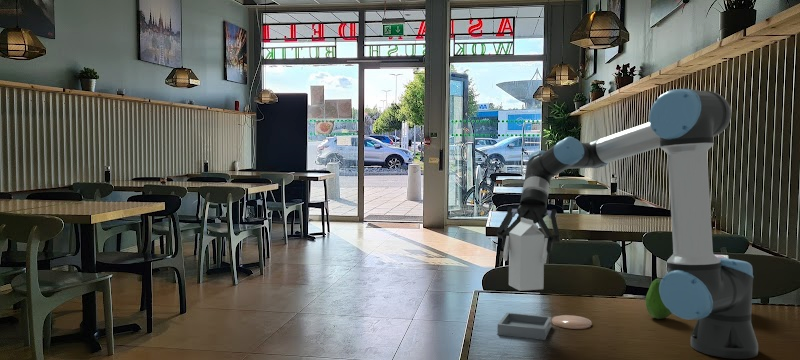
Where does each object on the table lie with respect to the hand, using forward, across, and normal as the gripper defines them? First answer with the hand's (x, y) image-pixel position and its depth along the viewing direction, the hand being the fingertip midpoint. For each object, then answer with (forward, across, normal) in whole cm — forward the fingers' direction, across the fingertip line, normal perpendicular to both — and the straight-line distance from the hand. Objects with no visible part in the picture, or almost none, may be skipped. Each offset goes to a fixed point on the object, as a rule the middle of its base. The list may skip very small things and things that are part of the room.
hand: (524, 259), depth 171 cm
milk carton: (+4, 0, -8) cm, 9 cm away
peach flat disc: (+4, -11, -25) cm, 28 cm away
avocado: (-6, -35, -35) cm, 50 cm away
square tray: (+12, 0, -16) cm, 21 cm away
